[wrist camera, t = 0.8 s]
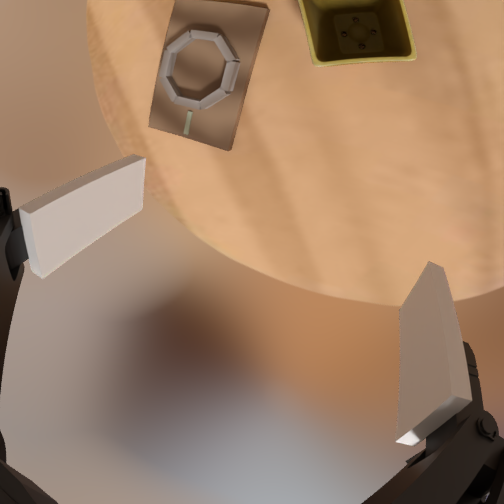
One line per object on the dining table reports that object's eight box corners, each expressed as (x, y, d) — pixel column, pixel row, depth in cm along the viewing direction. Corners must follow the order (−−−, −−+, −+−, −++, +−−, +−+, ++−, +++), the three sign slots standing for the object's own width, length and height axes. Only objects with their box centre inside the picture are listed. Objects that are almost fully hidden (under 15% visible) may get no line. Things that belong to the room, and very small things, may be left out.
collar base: (180, 0, 29) (170, -4, 27) (269, 10, 27) (263, 5, 25) (152, 125, 39) (141, 128, 37) (231, 149, 37) (223, 153, 35)
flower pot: (325, 74, 29) (312, 67, 22) (309, 4, 26) (291, -22, 18) (404, 69, 26) (418, 60, 19) (388, -3, 22) (394, -32, 15)
